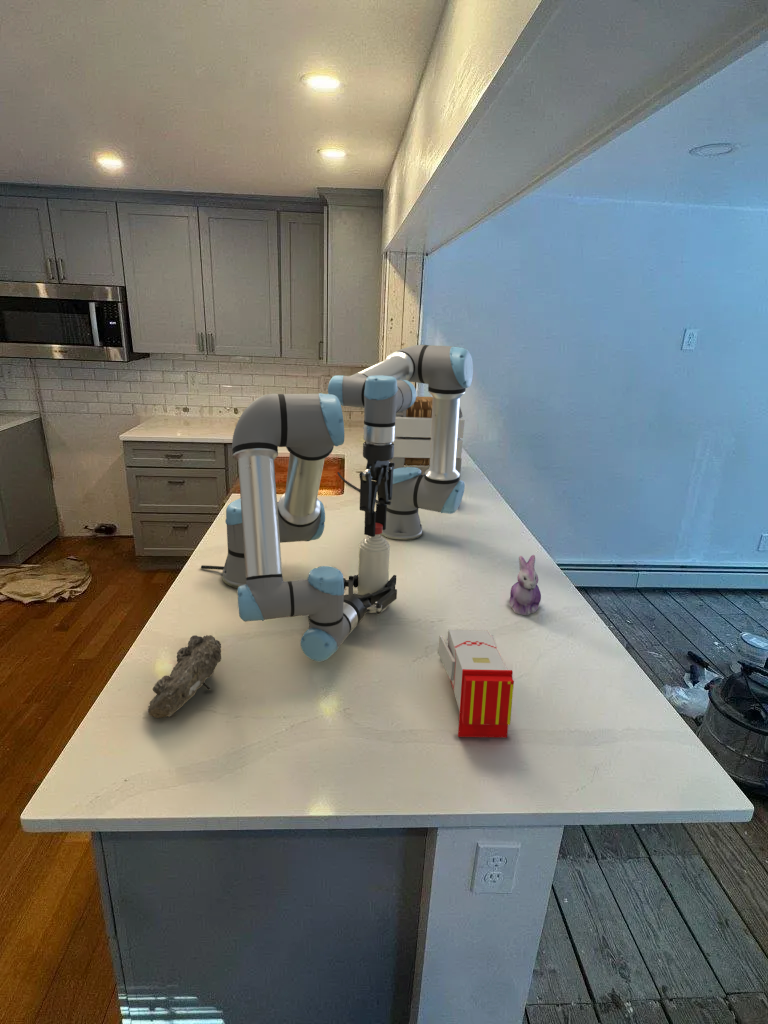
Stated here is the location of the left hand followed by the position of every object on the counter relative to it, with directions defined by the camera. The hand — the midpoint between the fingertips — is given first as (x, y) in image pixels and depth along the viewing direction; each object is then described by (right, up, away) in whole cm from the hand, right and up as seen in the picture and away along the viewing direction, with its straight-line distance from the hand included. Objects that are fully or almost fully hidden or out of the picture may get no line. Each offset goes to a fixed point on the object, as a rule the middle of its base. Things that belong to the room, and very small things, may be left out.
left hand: (379, 576), depth 153 cm
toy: (+19, -20, -35) cm, 45 cm away
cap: (-1, +14, -10) cm, 17 cm away
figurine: (+39, -9, 0) cm, 40 cm away
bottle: (-2, -7, -2) cm, 8 cm away
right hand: (-1, +12, -9) cm, 16 cm away
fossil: (-38, -19, -37) cm, 57 cm away
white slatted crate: (+19, +36, +122) cm, 128 cm away
